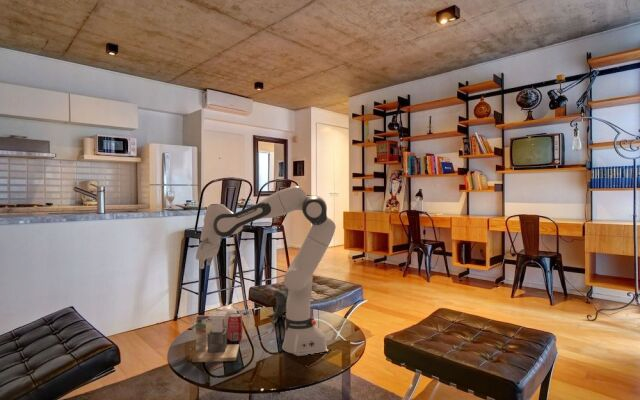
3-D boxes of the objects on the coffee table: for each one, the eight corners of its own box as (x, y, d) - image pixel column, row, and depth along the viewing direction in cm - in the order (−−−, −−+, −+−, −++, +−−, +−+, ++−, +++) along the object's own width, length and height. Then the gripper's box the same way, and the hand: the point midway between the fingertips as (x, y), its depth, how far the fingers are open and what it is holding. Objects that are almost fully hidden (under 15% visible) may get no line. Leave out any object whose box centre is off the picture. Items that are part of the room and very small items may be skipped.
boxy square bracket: (226, 331, 167) (227, 310, 167) (224, 337, 160) (225, 315, 160) (199, 332, 165) (200, 311, 165) (196, 338, 158) (197, 316, 158)
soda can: (237, 335, 183) (237, 311, 183) (245, 339, 178) (245, 315, 178) (224, 339, 178) (225, 314, 178) (232, 343, 173) (232, 318, 173)
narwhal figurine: (297, 319, 210) (298, 288, 210) (272, 323, 202) (273, 291, 202) (287, 312, 222) (287, 283, 222) (263, 316, 215) (264, 285, 215)
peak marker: (201, 322, 160) (201, 320, 160) (201, 322, 159) (201, 320, 159) (198, 322, 159) (198, 320, 159) (197, 323, 159) (197, 320, 159)
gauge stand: (239, 347, 169) (239, 310, 169) (235, 360, 155) (236, 320, 155) (198, 348, 167) (199, 311, 167) (191, 362, 153) (192, 321, 153)
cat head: (224, 336, 182) (224, 312, 182) (206, 331, 189) (206, 307, 189) (245, 327, 194) (245, 305, 194) (227, 323, 201) (228, 300, 201)
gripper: (209, 241, 159) (203, 272, 159) (223, 237, 180) (218, 264, 180) (195, 238, 159) (189, 269, 159) (211, 234, 180) (206, 262, 180)
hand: (205, 266), depth 170 cm, fingers open, 8 cm apart
